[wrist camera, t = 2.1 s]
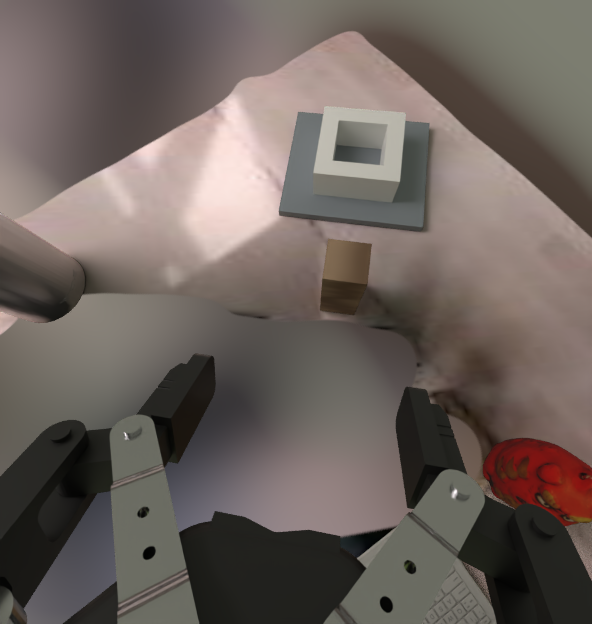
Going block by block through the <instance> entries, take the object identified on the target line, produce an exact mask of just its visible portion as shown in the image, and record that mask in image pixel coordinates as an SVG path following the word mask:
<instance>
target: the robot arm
mask: <svg viewBox="0 0 592 624" xmlns="http://www.w3.org/2000/svg"><path fill="white" fill-rule="evenodd" d="M84 287H85V275H84V271H83V269H82V267H81V265H80V264H79V263H78V262H77V261H76V260H75V259H73V258H72V257H70V256H69V255H67V254H65V253H64V252H62V251H61V250H59V249H57V248H56V247H54V246H53V245H51V244H50V243H48V242H47V241H45V240H43V239H42V238H40V237H39V236H37V235H35V234H34V233H32V232H31V231H29V230H27V229H26V228H24V227H23V226H21V225H20V224H18V223H16V222H15V221H13V220H12V219H10V218H8V217H7V216H5V215H3V214H2V213H0V312H2V313H5V314H8V315H12V316H15V317H18V318H21V319H25V320H28V321H31V322H37V323H47V322H51V321H55V320H57V319H59V318H61V317H63V316H64V315H66V314H67V313H69V312H70V311H71V310H72V309H73V308H74V307H75V306H76V304H77V303H78V301H79V300H80V298H81V296H82V294H83V291H84ZM215 384H216V383H215V366H214V357H213V356H210V355H203V354H194V355H193V356H192V358H191V359H190V360H189V362H188V363H187V364H182V363H181V364H179V365H177V366H176V367H175V368H173V369H171V370H170V371H169V373H168V374H167V375H166V377H165V378H164V380H163V381H162V382H161V383H160V384H159V386H158V388H156V390H155V391H154V392H153V394H152V395H151V396H150V397H149V399H148V400H147V401H146V403H145V404H144V405H143V407H142V408H141V409H140V410H139V412H138V413H137V414H136V415H133V416H129V417H126V418H124V419H122V420H121V421H119V422H118V423H117V424H116V425H115V426H114V427H113V428H109V429H100V430H89V431H86V428H85V425H84V424H83V423H82V422H80V421H77V420H67V421H62V422H59V423H57V424H54V425H52V426H50V427H49V428H47V429H46V430H45V431H43V432H42V433H41V434H40V435H39V436H38V437H37V438H36V440H35V441H34V442H33V443H32V444H31V445H30V446H29V447H28V448H27V449H26V450H25V451H24V452H23V453H22V454H21V455H20V456H19V458H18V459H17V460H16V461H15V462H14V463H13V464H12V465H11V466H10V467H9V468H8V469H7V470H6V471H5V472H4V473H3V474H2V476H0V624H27V615H26V612H25V610H24V607H25V606H26V604H27V603H28V601H29V600H30V598H31V596H32V595H33V593H34V592H35V590H36V589H37V587H38V585H39V584H40V582H41V581H42V579H43V578H44V576H45V574H46V573H47V571H48V570H49V568H50V567H51V565H52V564H53V562H54V560H55V559H56V557H57V556H58V554H59V553H60V551H61V549H62V548H63V546H64V545H65V543H66V542H67V540H68V538H69V537H70V535H71V534H72V532H73V531H74V529H75V528H76V526H77V524H78V523H79V521H80V520H81V518H82V516H83V515H84V513H85V512H86V510H87V509H88V507H89V506H90V504H91V502H92V501H93V499H94V498H95V496H96V495H97V493H101V492H108V491H111V503H112V516H113V530H114V531H113V532H114V547H115V561H116V576H117V581H116V582H115V583H114V584H112V585H111V586H110V587H109V588H107V589H106V590H105V591H104V592H102V593H101V594H100V595H99V596H97V597H96V598H95V599H93V600H92V601H91V602H90V603H89V604H87V605H86V606H85V607H83V608H82V609H81V610H80V611H78V612H77V613H76V614H74V615H73V616H72V617H71V618H70V619H68V620H67V621H66V622H64V623H63V624H422V622H423V620H424V619H425V617H426V615H427V613H428V611H429V609H430V607H431V605H432V604H433V602H434V600H435V598H436V596H437V594H438V592H439V590H440V588H441V587H442V585H443V583H444V581H445V579H446V577H447V575H448V573H449V572H450V570H451V568H452V566H453V564H454V562H455V560H456V558H458V559H460V560H462V561H464V562H466V563H467V564H469V565H471V566H473V567H475V568H477V569H478V570H480V571H482V572H484V574H485V578H486V582H487V586H488V590H489V594H490V598H491V602H492V606H493V610H494V614H495V619H496V623H497V624H592V581H591V579H590V577H589V575H588V572H587V570H586V568H585V566H584V564H583V562H582V560H581V558H580V556H579V554H578V552H577V550H576V548H575V546H574V543H573V541H572V539H571V537H570V535H569V533H568V531H567V530H566V528H565V527H564V525H563V524H562V523H561V522H560V521H559V520H558V519H557V518H556V517H555V516H554V515H553V514H551V513H550V512H548V511H547V510H545V509H543V508H542V507H539V506H537V505H533V504H521V505H519V506H518V507H517V508H516V510H514V509H512V508H510V507H508V506H506V505H504V504H501V503H499V502H497V501H495V500H493V499H491V498H489V497H487V496H486V495H484V493H483V491H482V489H481V488H480V486H479V485H478V484H477V482H476V481H475V480H474V479H472V478H471V477H470V476H468V475H467V472H466V469H465V467H464V463H463V460H462V457H461V454H460V451H459V448H458V446H457V443H456V439H454V434H453V430H452V429H451V425H450V422H449V419H448V416H447V414H446V413H445V412H444V411H443V409H442V408H441V407H440V406H439V405H437V404H431V403H430V400H429V396H428V393H427V391H426V390H425V389H419V388H412V387H406V388H405V390H404V393H403V396H402V400H401V403H400V406H399V409H398V412H397V417H396V433H397V440H398V447H399V454H400V461H401V467H402V474H403V481H404V488H405V495H406V502H407V508H411V509H414V510H413V511H412V512H411V513H410V512H409V513H408V514H407V515H406V516H405V517H404V518H403V520H402V521H401V522H400V524H399V525H398V527H397V528H396V529H395V531H394V532H393V533H392V535H391V536H390V537H389V539H388V540H387V541H386V543H385V544H384V545H383V547H382V548H381V550H380V551H379V552H378V554H377V555H376V556H375V558H374V559H373V560H372V562H371V563H370V564H369V566H368V567H367V568H366V567H365V566H364V565H363V564H362V563H361V562H360V561H359V560H358V559H357V558H356V557H355V556H353V555H352V554H351V553H349V552H348V551H346V550H345V549H343V548H341V547H340V536H337V535H331V534H326V533H322V532H316V531H312V530H301V531H288V532H273V531H271V530H269V529H267V528H265V527H263V526H261V525H259V524H257V523H255V522H253V521H252V520H250V519H247V518H246V517H242V516H237V515H232V514H227V513H222V512H217V511H215V513H214V515H213V518H212V521H210V522H203V523H199V524H196V525H193V526H191V527H188V528H187V529H184V530H183V531H181V532H178V528H177V524H176V519H175V514H174V510H173V505H172V501H171V496H170V492H169V487H168V483H167V478H166V474H165V469H164V468H165V466H166V464H167V463H168V462H173V463H178V462H179V461H180V459H181V457H182V455H183V453H184V451H185V449H186V447H187V445H188V443H189V442H190V439H191V437H192V436H193V434H194V432H195V430H196V428H197V426H198V424H199V422H200V420H201V418H202V417H203V415H204V413H205V411H206V409H207V407H208V405H209V403H210V401H211V400H212V398H213V395H214V392H215Z"/></svg>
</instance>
